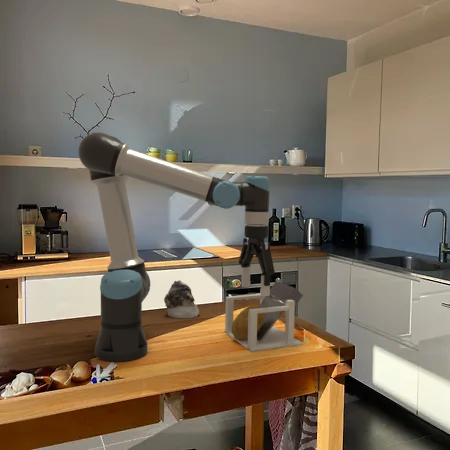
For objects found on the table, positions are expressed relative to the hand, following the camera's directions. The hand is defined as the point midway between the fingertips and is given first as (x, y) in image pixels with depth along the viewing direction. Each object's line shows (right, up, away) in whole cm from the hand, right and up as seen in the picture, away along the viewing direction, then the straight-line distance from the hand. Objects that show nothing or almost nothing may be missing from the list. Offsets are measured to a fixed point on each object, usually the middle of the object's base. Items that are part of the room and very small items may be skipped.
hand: (255, 291), depth 152 cm
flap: (+7, -8, +4) cm, 12 cm away
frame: (+2, -16, +3) cm, 16 cm away
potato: (0, -11, +1) cm, 11 cm away
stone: (-26, -13, +28) cm, 41 cm away
